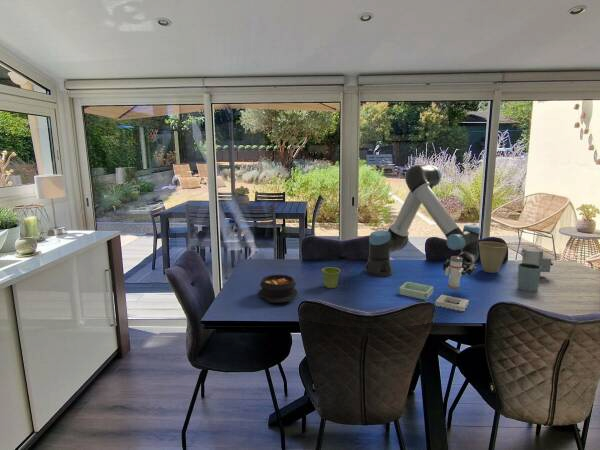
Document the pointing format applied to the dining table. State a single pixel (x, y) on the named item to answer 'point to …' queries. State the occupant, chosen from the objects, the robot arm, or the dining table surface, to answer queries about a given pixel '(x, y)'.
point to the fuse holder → (461, 306)
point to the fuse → (455, 272)
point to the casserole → (278, 288)
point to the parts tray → (416, 290)
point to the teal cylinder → (528, 276)
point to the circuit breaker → (536, 258)
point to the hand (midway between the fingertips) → (452, 273)
